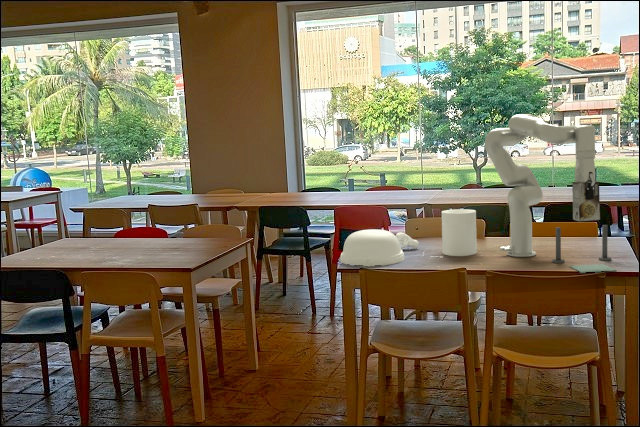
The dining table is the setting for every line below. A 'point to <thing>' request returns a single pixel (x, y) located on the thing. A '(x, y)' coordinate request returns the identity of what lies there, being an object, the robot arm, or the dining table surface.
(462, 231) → the canister
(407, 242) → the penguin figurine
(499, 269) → the dining table surface
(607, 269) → the green mat
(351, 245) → the dome cover
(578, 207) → the coffee box
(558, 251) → the post
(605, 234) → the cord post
